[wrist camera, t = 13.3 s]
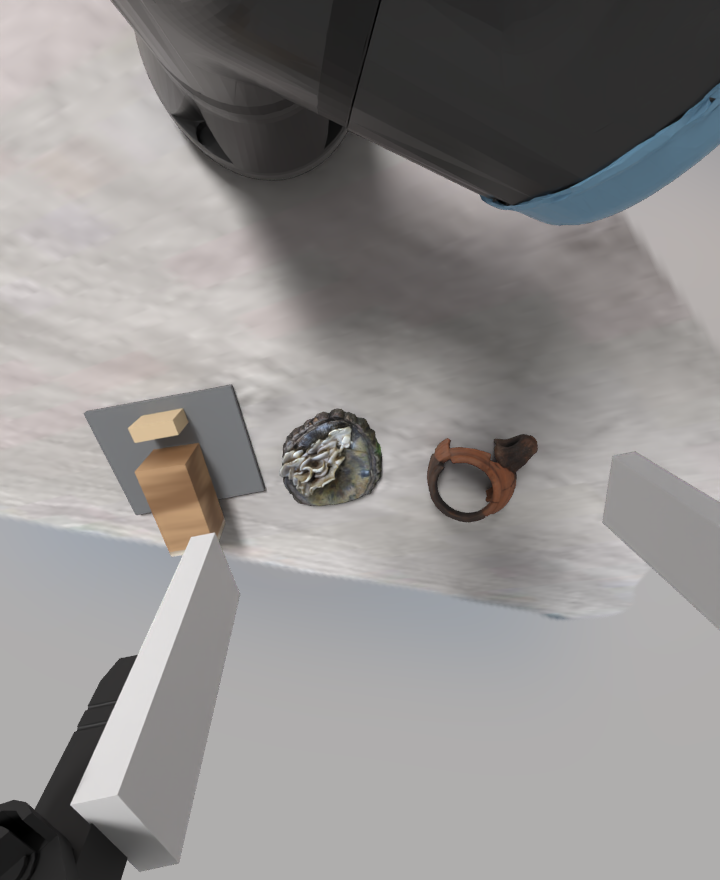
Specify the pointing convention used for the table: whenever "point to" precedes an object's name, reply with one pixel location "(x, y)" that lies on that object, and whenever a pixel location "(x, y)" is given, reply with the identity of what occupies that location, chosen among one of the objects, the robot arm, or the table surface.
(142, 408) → the board
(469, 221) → the table surface
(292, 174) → the robot arm
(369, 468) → the oyster shell
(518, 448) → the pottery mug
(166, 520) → the teak block
